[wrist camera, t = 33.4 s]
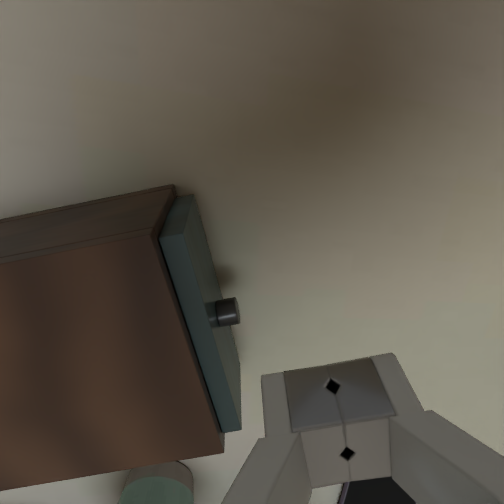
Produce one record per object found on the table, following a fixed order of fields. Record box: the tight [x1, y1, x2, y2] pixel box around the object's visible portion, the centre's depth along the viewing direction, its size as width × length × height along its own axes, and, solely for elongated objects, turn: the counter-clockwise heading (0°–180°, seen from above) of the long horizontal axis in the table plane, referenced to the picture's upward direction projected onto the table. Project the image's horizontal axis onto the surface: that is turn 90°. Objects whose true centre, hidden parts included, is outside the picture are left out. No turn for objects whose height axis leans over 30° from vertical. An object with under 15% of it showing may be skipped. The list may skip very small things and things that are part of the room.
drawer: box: [158, 195, 242, 433], centre depth 24 cm, size 15×13×6 cm
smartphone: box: [339, 476, 416, 504], centre depth 38 cm, size 7×1×15 cm
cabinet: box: [0, 184, 225, 491], centre depth 24 cm, size 15×15×8 cm
